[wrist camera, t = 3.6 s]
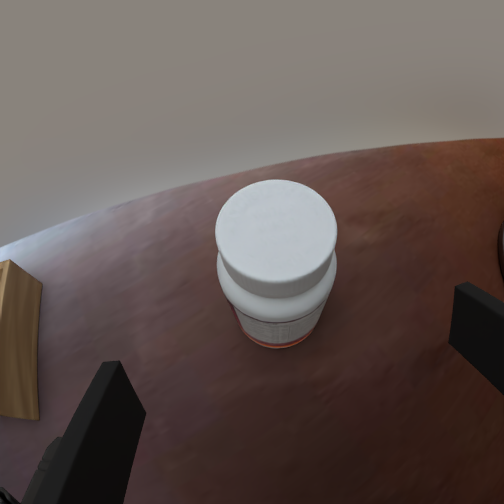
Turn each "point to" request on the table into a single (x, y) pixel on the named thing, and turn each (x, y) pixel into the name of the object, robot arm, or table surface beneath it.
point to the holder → (18, 341)
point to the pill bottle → (276, 259)
